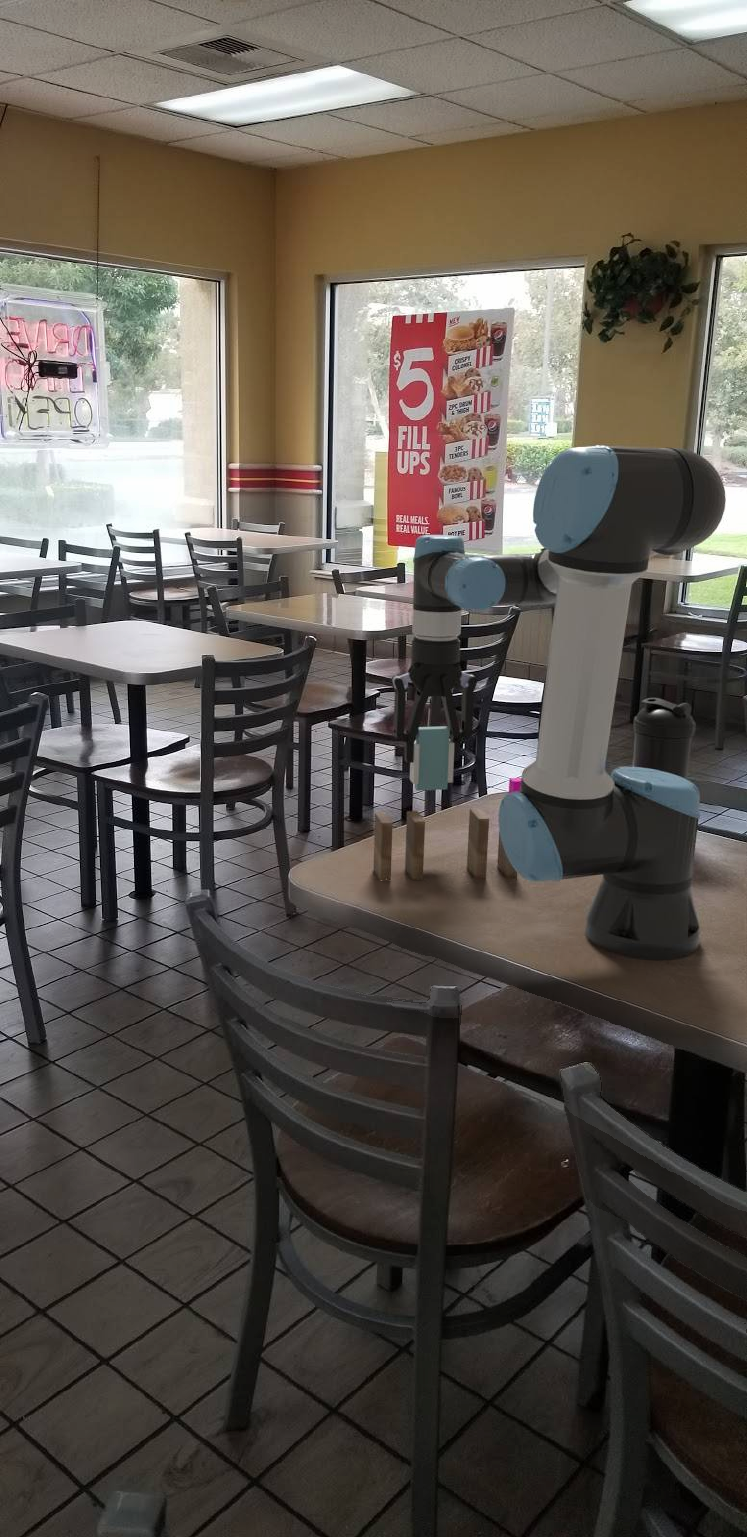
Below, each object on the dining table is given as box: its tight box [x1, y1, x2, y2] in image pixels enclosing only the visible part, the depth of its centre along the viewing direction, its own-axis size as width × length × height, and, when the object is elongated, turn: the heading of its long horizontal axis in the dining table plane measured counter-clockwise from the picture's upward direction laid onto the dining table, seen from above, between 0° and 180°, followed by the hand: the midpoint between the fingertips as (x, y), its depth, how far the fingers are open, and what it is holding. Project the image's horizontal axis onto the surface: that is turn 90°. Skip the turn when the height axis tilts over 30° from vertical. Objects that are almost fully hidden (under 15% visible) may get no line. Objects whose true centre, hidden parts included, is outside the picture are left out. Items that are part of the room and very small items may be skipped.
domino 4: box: [466, 807, 490, 879], centre depth 186 cm, size 2×5×10 cm, turn 12°
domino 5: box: [496, 831, 518, 878], centre depth 187 cm, size 2×5×10 cm, turn 12°
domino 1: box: [373, 811, 393, 881], centre depth 183 cm, size 2×5×10 cm, turn 12°
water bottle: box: [632, 697, 697, 779], centre depth 206 cm, size 10×10×23 cm
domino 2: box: [404, 810, 426, 881], centre depth 184 cm, size 2×5×10 cm, turn 12°
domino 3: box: [414, 725, 450, 791], centre depth 192 cm, size 2×5×10 cm, turn 102°
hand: (431, 780), depth 193 cm, fingers closed on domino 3, 5 cm apart
